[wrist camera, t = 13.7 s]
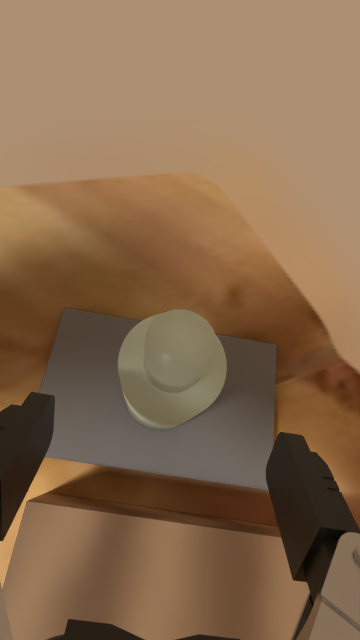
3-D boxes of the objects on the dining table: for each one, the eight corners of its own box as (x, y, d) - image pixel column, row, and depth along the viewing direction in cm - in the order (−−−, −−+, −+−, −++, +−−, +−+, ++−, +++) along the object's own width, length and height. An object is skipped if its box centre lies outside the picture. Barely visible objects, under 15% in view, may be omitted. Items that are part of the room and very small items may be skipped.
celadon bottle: (118, 425, 22) (98, 398, 11) (132, 355, 24) (128, 272, 13) (190, 436, 22) (241, 422, 11) (199, 366, 24) (251, 295, 13)
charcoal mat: (23, 453, 22) (20, 453, 21) (66, 310, 25) (64, 307, 25) (268, 490, 22) (271, 490, 22) (274, 346, 26) (276, 344, 26)
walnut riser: (-11, 712, 17) (-53, 784, 13) (46, 492, 21) (26, 501, 17) (402, 757, 18) (470, 834, 15) (386, 542, 22) (436, 560, 18)
